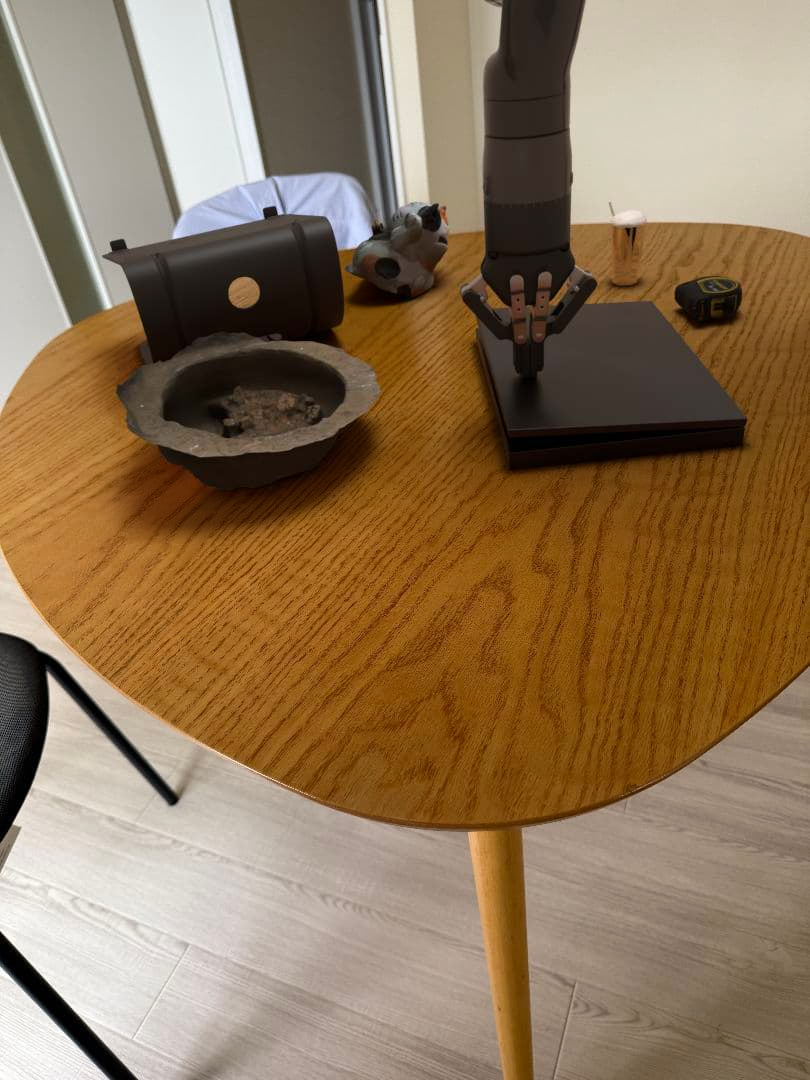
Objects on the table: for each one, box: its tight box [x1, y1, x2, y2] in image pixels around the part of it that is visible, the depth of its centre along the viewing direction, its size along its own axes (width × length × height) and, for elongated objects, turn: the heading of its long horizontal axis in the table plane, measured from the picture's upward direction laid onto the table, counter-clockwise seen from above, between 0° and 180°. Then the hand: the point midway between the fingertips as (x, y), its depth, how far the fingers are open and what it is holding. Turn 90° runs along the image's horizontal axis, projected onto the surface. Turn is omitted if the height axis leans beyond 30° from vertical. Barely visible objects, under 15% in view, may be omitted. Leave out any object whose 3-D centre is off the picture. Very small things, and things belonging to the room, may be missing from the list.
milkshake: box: [608, 201, 648, 287], centre depth 103 cm, size 4×5×10 cm
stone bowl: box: [115, 332, 382, 491], centre depth 77 cm, size 25×25×9 cm
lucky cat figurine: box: [344, 200, 450, 299], centre depth 111 cm, size 15×12×14 cm
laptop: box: [475, 327, 746, 471], centre depth 82 cm, size 21×30×2 cm
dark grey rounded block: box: [101, 205, 345, 365], centre depth 98 cm, size 26×24×16 cm
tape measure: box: [674, 275, 743, 322], centre depth 93 cm, size 7×7×4 cm
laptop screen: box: [474, 300, 748, 437], centre depth 81 cm, size 21×30×1 cm
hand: (528, 374), depth 77 cm, fingers closed
